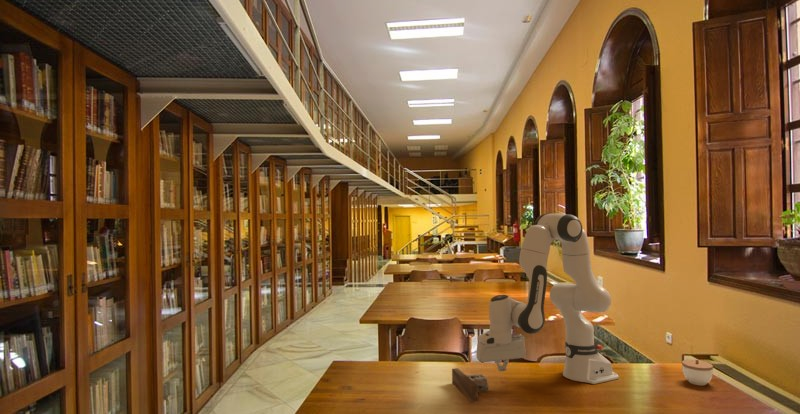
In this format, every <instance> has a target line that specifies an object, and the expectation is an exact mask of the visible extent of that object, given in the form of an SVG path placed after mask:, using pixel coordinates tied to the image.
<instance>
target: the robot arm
mask: <svg viewBox="0 0 800 414" xmlns="http://www.w3.org/2000/svg"><path fill="white" fill-rule="evenodd" d="M554 241H560V243H561V257H562V267H563V269H562V270H563V272H564V273H565V274H566V275H567V276H569V277H570V278H572V280H573V281H574V282H575V283H569V282H564V283H563V282H562V283H555V284H553V285H552V286H551V288H550V290H549V299H550V301H551V303H552V304H553V306H555V307H556V309H558V311H559V312H560V314H561V316H562V318H563V321H564V325H565V343H564V345H565V346H564V351H565V361H564V362H565V363H564V368H563V372H562V376H563V377H565V378H566V379H569V380H571V381H575V382H581V383H588V384H592V385H596V384H600V383H605V382H609V381H614V380H619V379H620V376H619V375H618V373H617V372H614V371H613V366H612V363H611V361H610V360H608V359H607V358H606V357H605V356H603V355H602V354H600V353H599V351H603V349H604V348H603V346H602V345H601V344H596V343H595V336H594V335H595V334H594V333H595V332H594V331H595V330H594V329H595V328H594V325H593V323H592V322H591V321H589V320H588V319H587V318H586V317H585V316H584V315H583V313H582V312H587V313H595V314H596V313H605V312H607V311H608V309H609V308H610V307H611V304H612V297H611V295H610V292H609V291H608V290H607V289H606V288H604V287H603V286H602V285H601V283H600V282H599V281H598V280H597V277H595V275H594V272H593V268H592V262H591V251H590V244H589V239H588V235H587V232H586V230H585V229H584V228H583V224H582V222H581V220H580V218H579V217H577V216H575V215H573V214H569V213H568V214H566V213H559V212H557V213H543V214H540V215H539V216H538V217H537V218H536V219H535V221H534V224H533V225H531V226H529V227H528V228H527V231H526V232H525V235H524V238H523V240H522V244H521V248H520V252H519V259H518V260H519V263H518V264H519V266H520V268H521V269H522V270H523V272H524V273H525V275H526V276H527V279H528V283H529V287H528V296H527V301H526V303H525V302H524V301H520V300H516V299H515V298H514V299H513V298H512V297H510V296H509V295H507V294H497V295H495V296H492V297H491V299H490V300H489V305H488V306H489V307H488V318H489V319H488V320H489V323H490V325H489V330H487V331H486V332H483V333H481V334H479V335H478V337H477V339H478V343H477V344H476V360H478V361H479V363H489V362H490V363H491V362H494V363H495V364H496V366H497V371H498V372H504V371H505V372H506V371H507V366H508V364H509V361H510V360H515V359H524V358H525V357H526V355H527V350H526V349H527V348H526V345H525V344H526V338H525V336H524V335H523V334H521V333H519V334H513V327H515V326H516V327H517V328H520V329H521V330H522V331H523V332H524V333H526V334H530V335H531V334H537V333H538V332H540V331H541V330H542V329H543V328H544V325H545V322H546V321H545V320H546V318H545V317H546V316H545V300H546V292H547V290H546V289H547V283H548V271H547V270H548V269H547V267H548V259H549V255H550V250H551V245H552V243H553V242H554ZM501 361H503V363H502V365H501V364H500V363H501Z"/></svg>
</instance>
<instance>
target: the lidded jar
mask: <svg viewBox="0 0 800 414" xmlns="http://www.w3.org/2000/svg"><path fill="white" fill-rule="evenodd" d="M681 369H682V374H683V376H684V378H685V379H686V380H687V381H688V382H689V383H690V384H691V385H695V386H706V385H707V384H708V383H710V382H711V380H712V378H713V373H714V365H713V364H712V363H709V362H706V361H703V360H699V359H698V358H696V359H684V360H682V361H681Z"/></svg>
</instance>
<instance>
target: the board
mask: <svg viewBox="0 0 800 414" xmlns="http://www.w3.org/2000/svg"><path fill="white" fill-rule="evenodd" d="M466 375H467V374H465V373H464V372H463V371H462V370H460V369H459V368H452V369H451V376H452V377H451V378H452V379H451V381H452V382H451V383H452V385H454V387H455V388H456V389H457V390H458V391H459V392H460V393H461V394H462V395H463V396H465V398H466V399H467V400H468V401H470V403H476V402H479V401H478V400H479V399H478V393H479V392H477V385H476V384H475V383H474V382H473V381H472V380H471V379H470V378H468V377H467V376H466Z"/></svg>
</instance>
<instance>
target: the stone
mask: <svg viewBox="0 0 800 414" xmlns="http://www.w3.org/2000/svg"><path fill="white" fill-rule="evenodd" d="M465 375H466V376H467V377H468V378H470V379H471V380H472V381H473V382H474V383H475V384H476V385H477V392H478V393H485V392H488V391H489V383H488V380H487V377H486V376H485V375H483V374H477V373H476V374H475V373H474V374H465Z"/></svg>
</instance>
